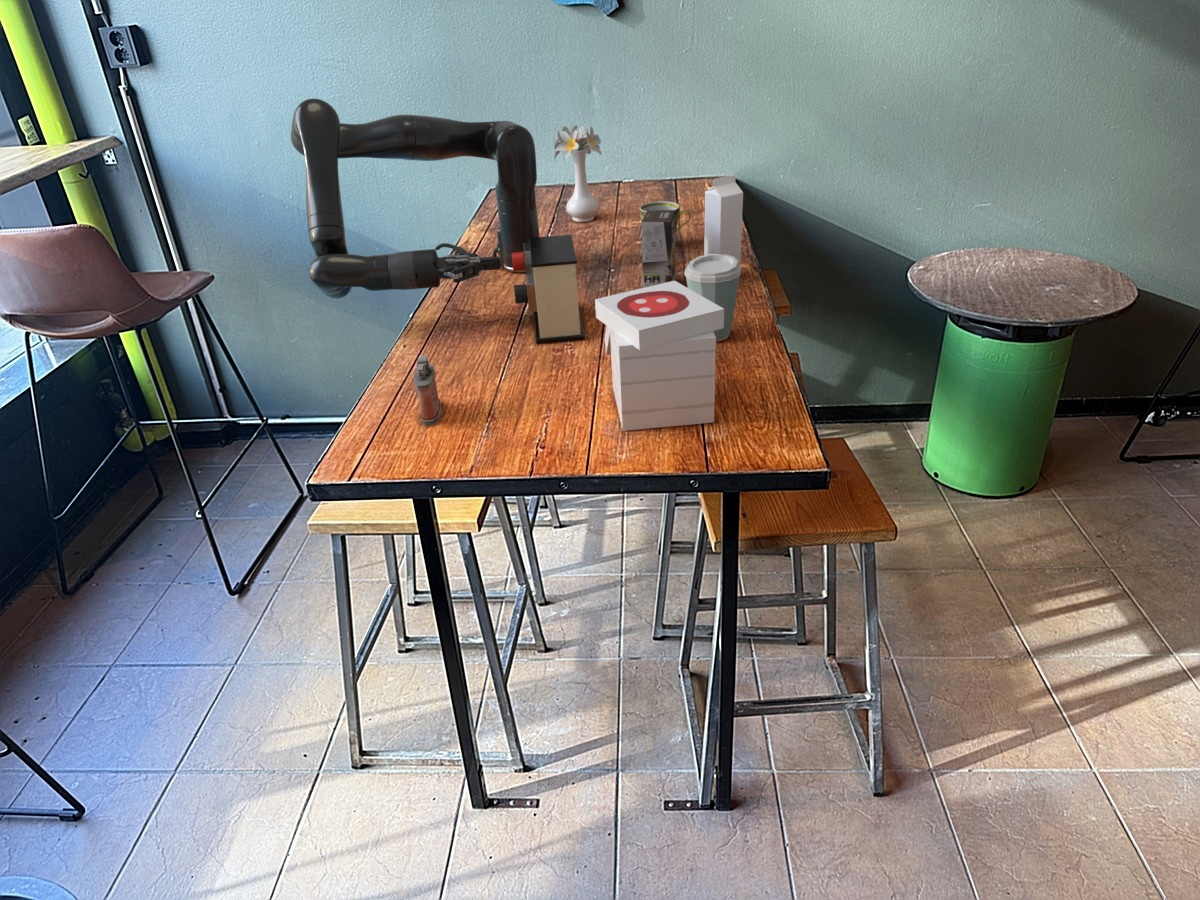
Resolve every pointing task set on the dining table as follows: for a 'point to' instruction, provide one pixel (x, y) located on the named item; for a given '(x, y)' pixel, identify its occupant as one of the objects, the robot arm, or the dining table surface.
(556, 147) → the flower vase
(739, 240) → the milk
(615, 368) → the pizza boxes
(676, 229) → the ceramic cup
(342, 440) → the dining table surface
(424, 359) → the lighter
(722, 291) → the disposable coffee cup
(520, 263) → the red button
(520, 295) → the black button
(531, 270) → the control box
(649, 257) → the coffee box
